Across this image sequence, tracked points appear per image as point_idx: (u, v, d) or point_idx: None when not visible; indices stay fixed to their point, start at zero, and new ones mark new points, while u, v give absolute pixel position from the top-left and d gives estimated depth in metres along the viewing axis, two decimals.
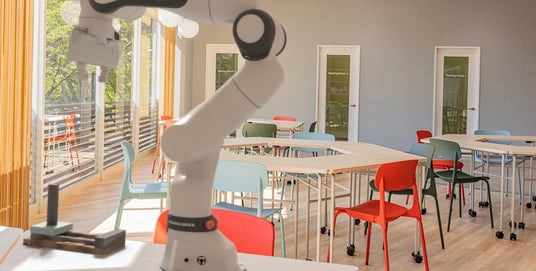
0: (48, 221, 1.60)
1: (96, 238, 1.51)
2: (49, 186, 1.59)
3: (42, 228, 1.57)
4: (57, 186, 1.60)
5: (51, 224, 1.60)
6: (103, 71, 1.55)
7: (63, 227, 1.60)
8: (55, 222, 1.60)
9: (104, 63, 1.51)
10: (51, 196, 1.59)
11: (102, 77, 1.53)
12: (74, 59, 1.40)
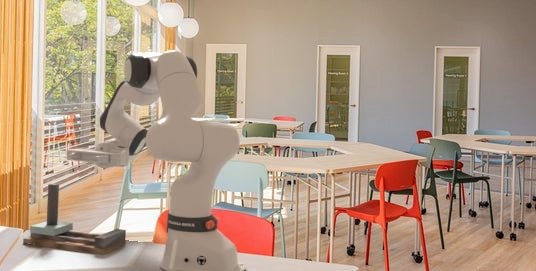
0: (48, 221, 1.60)
1: (96, 238, 1.51)
2: (49, 186, 1.59)
3: (42, 228, 1.57)
4: (57, 186, 1.60)
5: (51, 224, 1.60)
6: None
7: (63, 227, 1.60)
8: (55, 222, 1.60)
9: (100, 152, 1.79)
10: (51, 196, 1.59)
11: None
12: None
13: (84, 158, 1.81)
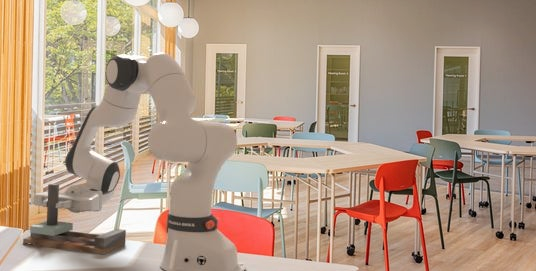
0: (48, 221, 1.60)
1: (96, 238, 1.51)
2: (49, 186, 1.59)
3: (42, 228, 1.57)
4: (57, 186, 1.60)
5: (51, 224, 1.60)
6: None
7: (63, 227, 1.60)
8: (55, 222, 1.60)
9: (69, 197, 1.64)
10: (51, 196, 1.59)
11: None
12: None
13: None
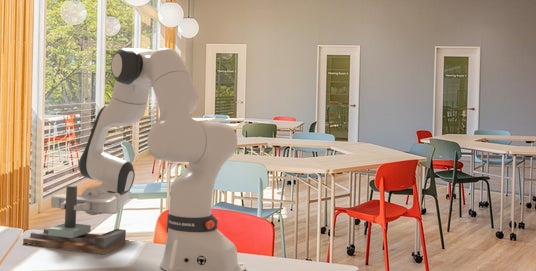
0: (66, 223, 1.58)
1: (96, 238, 1.51)
2: (67, 188, 1.58)
3: (61, 230, 1.55)
4: (75, 188, 1.58)
5: (69, 226, 1.58)
6: None
7: (81, 229, 1.58)
8: (73, 224, 1.59)
9: (87, 199, 1.63)
10: (69, 198, 1.58)
11: None
12: (51, 200, 1.66)
13: None
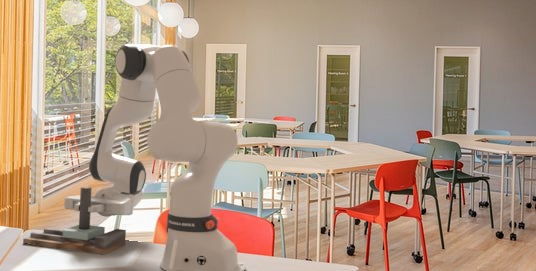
0: (81, 225, 1.57)
1: (96, 238, 1.51)
2: (82, 189, 1.57)
3: (75, 232, 1.54)
4: (90, 189, 1.57)
5: (84, 228, 1.57)
6: None
7: (96, 231, 1.57)
8: (88, 226, 1.58)
9: (101, 200, 1.62)
10: (83, 200, 1.57)
11: None
12: (64, 201, 1.64)
13: None
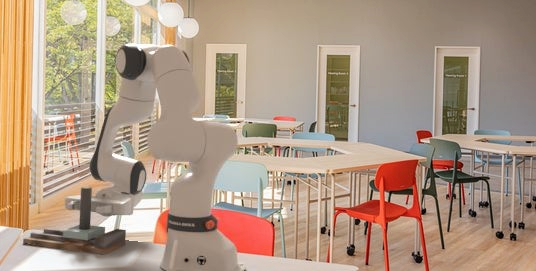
0: (81, 225, 1.57)
1: (96, 238, 1.51)
2: (82, 189, 1.57)
3: (75, 232, 1.54)
4: (90, 189, 1.57)
5: (84, 228, 1.57)
6: None
7: (96, 231, 1.57)
8: (88, 226, 1.58)
9: (101, 200, 1.62)
10: (84, 200, 1.56)
11: None
12: (65, 201, 1.64)
13: None
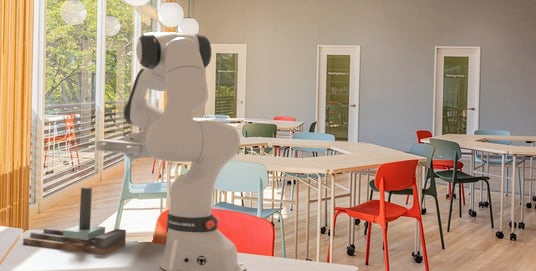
0: (81, 225, 1.57)
1: (96, 238, 1.51)
2: (82, 189, 1.57)
3: (75, 232, 1.54)
4: (90, 189, 1.57)
5: (84, 228, 1.57)
6: None
7: (96, 231, 1.57)
8: (88, 226, 1.58)
9: (130, 142, 1.76)
10: (84, 200, 1.56)
11: None
12: (96, 143, 1.79)
13: (114, 148, 1.78)
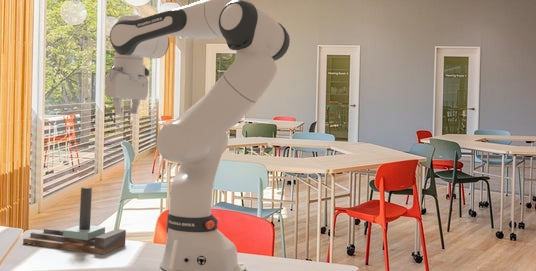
0: (81, 225, 1.57)
1: (96, 238, 1.51)
2: (82, 189, 1.57)
3: (75, 232, 1.54)
4: (90, 189, 1.57)
5: (84, 228, 1.57)
6: (134, 103, 1.73)
7: (96, 231, 1.57)
8: (88, 226, 1.58)
9: (136, 97, 1.69)
10: (84, 200, 1.56)
11: (133, 109, 1.71)
12: (111, 96, 1.58)
13: None
